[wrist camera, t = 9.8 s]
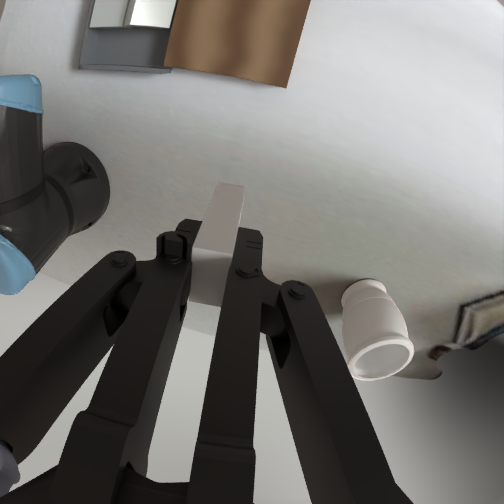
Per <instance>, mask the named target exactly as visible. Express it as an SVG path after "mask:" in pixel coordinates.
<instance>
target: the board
mask: <svg viewBox="0 0 504 504" xmlns="http://www.w3.org/2000/svg"><path fill="white" fill-rule="evenodd" d="M310 1H311V0H178V4H177V8H176V12H175V16H174V20H173V24H172V28H171V33H170V37H169V42H168V46H167V51H166V56H165V61H164V66H167V67H176V68H184V69H191V70H198V71H205V72H211V73H217V74H223V75H228V76H234V77H239V78H244V79H248V80H253V81H258V82H262V83H266V84H270V85H275V86H279V87H283V88H286V87H287V84H288V80H289V77H290V73H291V69H292V66H293V62H294V58H295V55H296V51H297V48H298V44H299V40H300V37H301V33H302V30H303V26H304V22H305V19H306V15H307V12H308V8H309V5H310Z"/></svg>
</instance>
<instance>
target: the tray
mask: <svg viewBox="0 0 504 504" xmlns="http://www.w3.org/2000/svg"><path fill="white" fill-rule="evenodd" d="M94 4H95V0H91V3H90V8H89V12H88V17H87V21H86V26H85V32H84V37H83V43H82V49H81V55H80V62H79V69H100V70H124V71H138V72H150V73H160V74H164V73H171V68H172V67H167V66H164V61H165V56H166V51H167V46H168V42H169V37H170V33H171V28H172V24H173V20H174V16H175V12H176V8H177V4H178V0H176V3H175V7H174V11H173V15H172V19H171V23H170V27H169V28H166V29H154V28H143V27H134V28H108V29H101V28H91V27H90V22H91V17H92V13H93V9H94Z"/></svg>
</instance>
